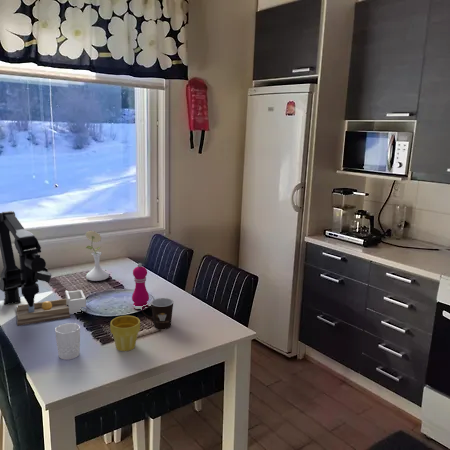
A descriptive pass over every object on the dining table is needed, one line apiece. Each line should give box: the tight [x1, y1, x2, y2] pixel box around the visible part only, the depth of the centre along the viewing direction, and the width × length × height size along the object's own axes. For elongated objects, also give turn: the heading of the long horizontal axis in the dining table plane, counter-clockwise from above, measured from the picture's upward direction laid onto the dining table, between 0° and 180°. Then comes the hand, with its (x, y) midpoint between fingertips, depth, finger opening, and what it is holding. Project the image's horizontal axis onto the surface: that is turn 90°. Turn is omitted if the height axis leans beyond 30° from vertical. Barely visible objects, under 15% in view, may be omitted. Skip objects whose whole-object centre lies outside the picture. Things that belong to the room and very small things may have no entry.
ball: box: [42, 300, 52, 310], centre depth 184 cm, size 4×4×4 cm
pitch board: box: [16, 298, 71, 327], centre depth 183 cm, size 17×20×3 cm
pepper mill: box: [131, 262, 150, 306], centre depth 190 cm, size 7×7×20 cm
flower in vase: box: [85, 230, 110, 282], centre depth 223 cm, size 13×11×25 cm
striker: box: [27, 301, 35, 313], centre depth 181 cm, size 7×2×8 cm, turn 26°
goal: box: [64, 289, 87, 315], centre depth 188 cm, size 11×7×7 cm, turn 26°
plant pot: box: [109, 315, 141, 352], centre depth 157 cm, size 10×10×10 cm
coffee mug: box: [141, 297, 174, 331], centre depth 174 cm, size 12×9×10 cm
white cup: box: [54, 322, 81, 361], centre depth 150 cm, size 8×8×10 cm
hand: (30, 302), depth 181 cm, fingers open, 9 cm apart
